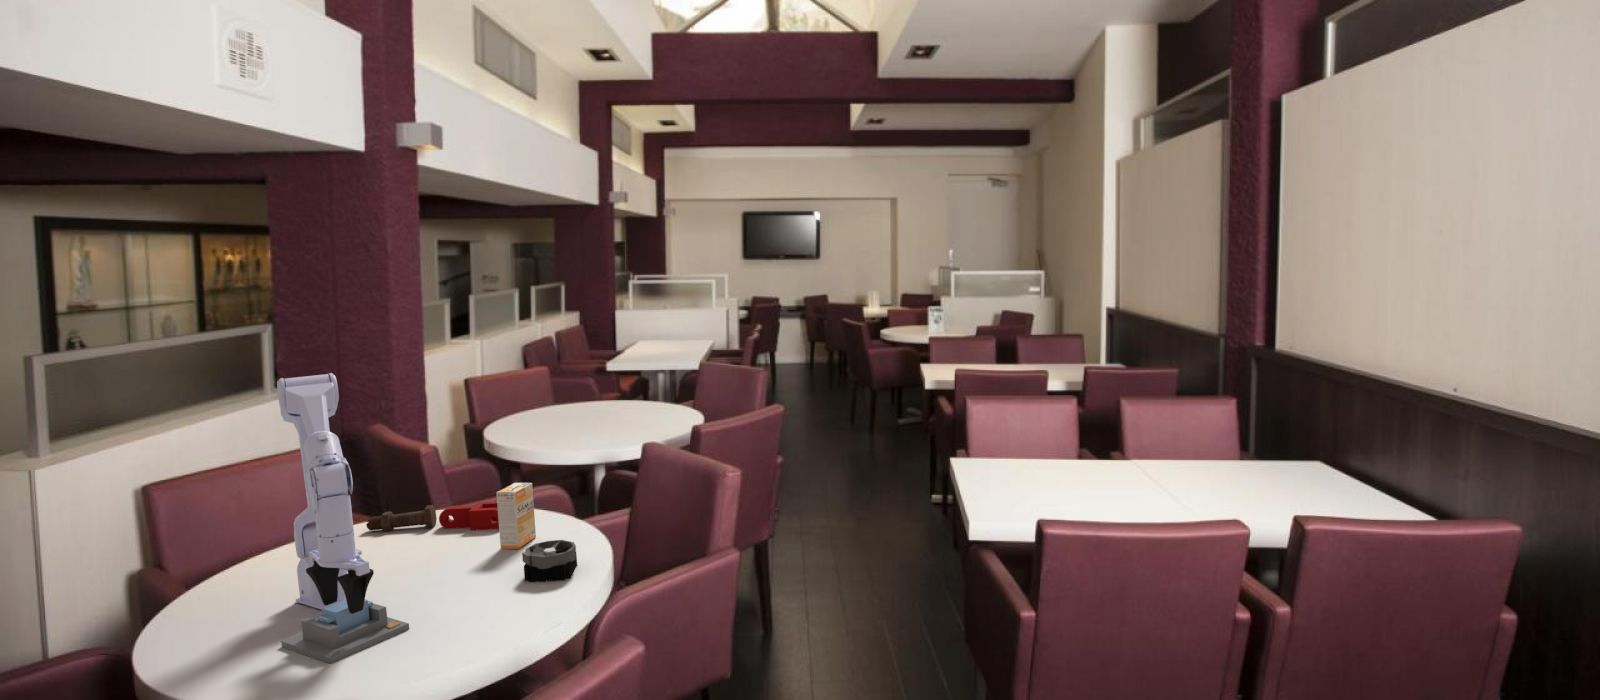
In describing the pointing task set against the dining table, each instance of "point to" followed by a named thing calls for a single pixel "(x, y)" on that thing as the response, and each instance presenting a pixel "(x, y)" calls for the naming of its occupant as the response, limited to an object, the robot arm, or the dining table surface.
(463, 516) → the mechanical linkage
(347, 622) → the block
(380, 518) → the bolt
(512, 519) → the supplement box
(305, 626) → the board
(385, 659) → the dining table surface
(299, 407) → the robot arm
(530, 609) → the dining table surface
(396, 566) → the dining table surface
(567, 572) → the cpu cooler
